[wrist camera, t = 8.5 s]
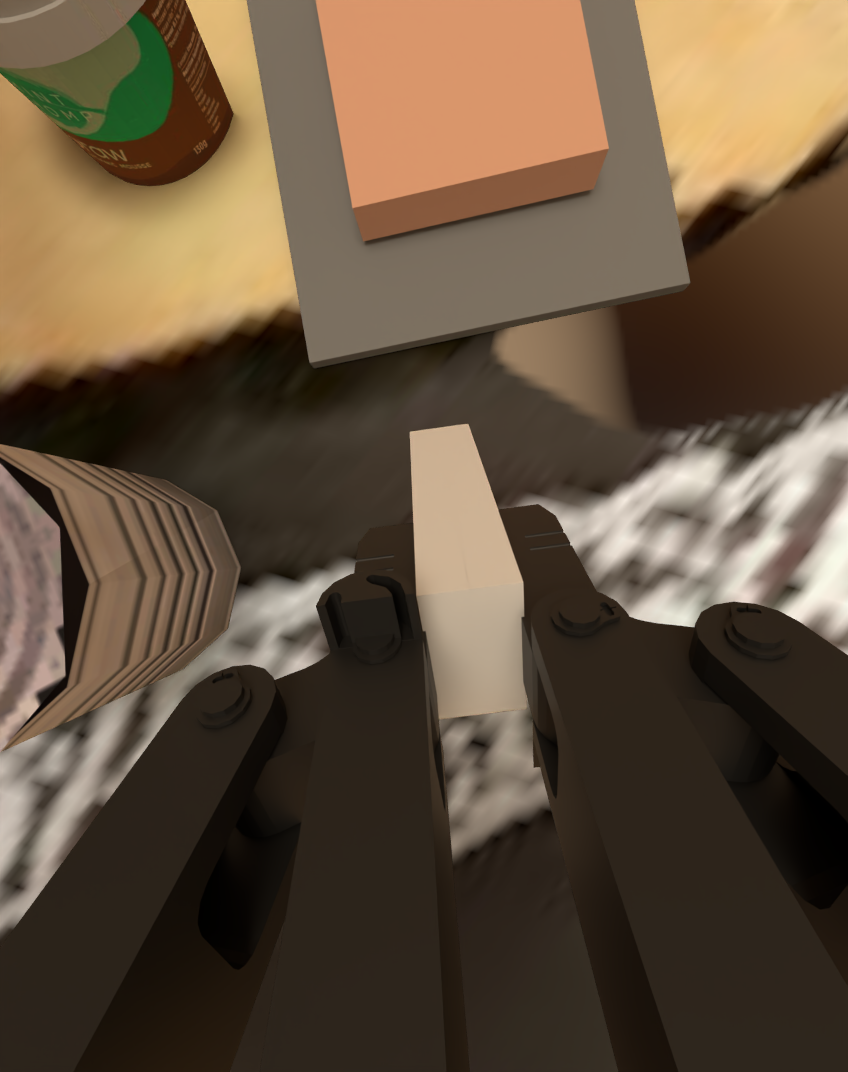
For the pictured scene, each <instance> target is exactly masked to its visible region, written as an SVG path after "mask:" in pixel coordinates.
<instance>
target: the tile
mask: <svg viewBox="0 0 848 1072" xmlns="http://www.w3.org/2000/svg"><path fill="white" fill-rule="evenodd" d="M316 5H317V11H318V17H319V22H320V28H321V34H322V39H323V45H324V50H325V56H326V62H327V67H328V73H329V79H330V84H331V90H332V95H333V101H334V107H335V112H336V118H337V124H338V129H339V135H340V140H341V146H342V152H343V157H344V163H345V169H346V174H347V180H348V185H349V191H350V197H351V202H352V208H353V211H354V214H355V217H356V220H357V224H358V227H359V230H360V233H361V236H362V239H363V241H368V240H372V239H376V238H381V237H385V236H390V235H394V234H398V233H403V232H407V231H412V230H416V229H420V228H425V227H429V226H434V225H438V224H442V223H447V222H451V221H456V220H460V219H464V218H469V217H473V216H477V215H482V214H486V213H491V212H495V211H499V210H504V209H508V208H513V207H517V206H521V205H526V204H530V203H535V202H539V201H543V200H548V199H552V198H557V197H561V196H565V195H570V194H574V193H579V192H583V191H587V190H592V189H594V187H595V184H596V181H597V179H598V176H599V173H600V171H601V168H602V165H603V163H604V160H605V157H606V155H607V152H608V150H609V146H608V141H607V136H606V131H605V126H604V120H603V115H602V110H601V105H600V100H599V95H598V90H597V84H596V79H595V74H594V69H593V64H592V59H591V54H590V48H589V43H588V38H587V33H586V28H585V23H584V17H583V12H582V7H581V2H580V0H316Z"/></svg>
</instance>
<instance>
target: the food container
mask: <svg viewBox="0 0 848 1072" xmlns="http://www.w3.org/2000/svg"><path fill="white" fill-rule="evenodd" d="M0 73H1V74H2V75H3V76H4V77H5V78H6V79H7V80H8V81H9V82H10V83H12V84H13V85H14V86H15V87H16V88H17V89H18V90H19V91H20V92H21V93H22V94H24V95H25V96H26V97H27V98H28V99H29V100H30V101H31V102H32V103H33V104H35V105H36V106H37V107H38V108H39V109H40V110H41V111H42V112H43V113H44V114H45V115H47V116H48V117H49V118H50V119H51V120H52V121H53V122H54V123H55V124H56V125H57V126H59V127H60V128H61V129H62V130H63V131H64V132H65V133H66V134H67V135H68V136H70V137H71V138H72V139H73V140H74V141H75V142H76V143H77V144H78V145H79V146H80V147H82V148H83V149H84V150H85V151H86V152H87V153H88V154H89V155H90V156H91V157H93V158H94V159H95V160H96V161H97V162H98V163H99V164H100V165H101V166H102V167H103V168H105V169H106V170H107V171H108V172H109V173H110V174H112V175H114V176H116V177H118V178H120V179H122V180H124V181H126V182H129V183H133V184H136V185H144V186H156V185H164V184H168V183H172V182H175V181H178V180H180V179H182V178H185V177H187V176H188V175H190V174H191V173H193V172H195V171H196V170H198V169H199V168H200V167H201V166H202V165H203V164H205V163H206V162H207V161H208V160H209V159H210V158H211V156H212V155H213V154H214V153H215V152H216V150H217V149H218V147H219V146H220V144H221V143H222V141H223V140H224V138H225V135H226V133H227V131H228V129H229V127H230V123H231V120H232V117H233V111H232V109H231V106H230V104H229V102H228V99H227V97H226V95H225V92H224V90H223V88H222V85H221V83H220V81H219V78H218V76H217V74H216V71H215V69H214V66H213V64H212V62H211V59H210V57H209V55H208V52H207V50H206V48H205V45H204V43H203V41H202V38H201V36H200V34H199V31H198V29H197V27H196V24H195V22H194V19H193V17H192V15H191V12H190V10H189V8H188V5H187V3H186V1H185V0H0Z"/></svg>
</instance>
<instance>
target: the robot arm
mask: <svg viewBox="0 0 848 1072" xmlns="http://www.w3.org/2000/svg"><path fill="white" fill-rule="evenodd" d="M410 448H411V473H412V498H413V523H407V524H400V525H393V526H385V527H378V528H370V529H369V531H368V532H367V533H366V534H365V536H364V537H363V538H362V539H361V541H360V542H359V543H358V550H357V557H356V561H357V562H356V564H355V571H354V574H350V575H348V576H346V577H344V578H342V579H340V580H338V581H336V582H335V583H333V584H332V585H331V586H330V587H329V588H328V589H327V590H326V591H325V592H323V593H322V595H321V597H320V599H319V601H318V603H317V605H316V608H317V611H318V614H319V617H320V620H321V623H322V626H323V629H324V632H325V635H326V638H327V641H328V644H329V647H330V654H329V655H327V656H326V657H324V658H323V659H322V660H320V661H319V662H317V663H315V664H313V665H311V666H309V667H307V668H305V669H302V670H300V671H297V672H295V673H292V674H289V675H287V676H284V677H282V678H279V679H276V680H274V678H273V677H272V676H271V675H270V674H269V673H268V672H267V671H266V670H265V669H264V668H260V667H256V666H253V665H242V666H232V667H230V668H227V669H224V670H221V671H219V672H216V673H214V674H212V675H211V676H209V677H207V678H206V679H204V680H203V681H201V682H200V683H198V684H197V685H196V686H195V687H194V688H193V689H192V690H191V691H190V692H189V693H188V694H187V695H186V696H185V697H184V698H183V699H182V700H181V702H180V703H179V704H178V706H177V707H176V709H175V710H174V711H173V713H172V714H171V715H170V717H169V718H168V720H167V721H166V722H165V724H164V725H163V726H162V728H161V729H160V730H159V732H158V733H157V735H156V736H155V737H154V739H153V740H152V741H151V743H150V744H149V745H148V747H147V748H146V750H145V751H144V752H143V754H142V755H141V756H140V758H139V759H138V760H137V762H136V763H135V765H134V766H133V767H132V769H131V770H130V771H129V773H128V774H127V775H126V777H125V778H124V780H123V781H122V782H121V784H120V785H119V786H118V788H117V789H116V790H115V792H114V793H113V795H112V796H111V797H110V799H109V800H108V801H107V803H106V804H105V805H104V807H103V808H102V810H101V811H100V812H99V814H98V815H97V816H96V818H95V819H94V820H93V822H92V823H91V825H90V826H89V827H88V829H87V830H86V831H85V833H84V834H83V835H82V837H81V838H80V840H79V841H78V842H77V844H76V845H75V846H74V848H73V849H72V850H71V852H70V853H69V855H68V856H67V857H66V859H65V860H64V861H63V863H62V864H61V865H60V867H59V868H58V870H57V871H56V872H55V874H54V875H53V876H52V878H51V879H50V880H49V882H48V883H47V885H46V886H45V887H44V889H43V890H42V891H41V893H40V894H39V895H38V897H37V898H36V900H35V901H34V902H33V904H32V905H31V906H30V908H29V909H28V910H27V912H26V913H25V915H24V916H23V917H22V919H21V920H20V921H19V923H18V924H17V925H16V927H15V928H14V930H13V931H12V932H11V934H10V935H9V936H8V938H7V939H6V940H5V942H4V943H3V945H2V946H1V947H0V1072H230V1069H231V1066H232V1064H233V1061H234V1058H235V1055H236V1052H237V1050H238V1047H239V1044H240V1041H241V1039H242V1036H243V1033H244V1030H245V1027H246V1025H247V1022H248V1019H249V1016H250V1014H251V1011H252V1008H253V1005H254V1002H255V1000H256V997H257V994H258V991H259V989H260V986H261V983H262V980H263V977H264V975H265V972H266V969H267V966H268V964H269V961H270V958H271V955H272V952H273V950H274V947H275V944H276V941H277V939H278V936H279V933H280V930H281V927H282V925H283V922H284V919H285V923H284V929H283V935H282V941H281V947H280V953H279V959H278V965H277V971H276V976H275V982H274V988H273V994H272V1000H271V1006H270V1012H269V1018H268V1024H267V1030H266V1036H265V1042H264V1048H263V1054H262V1059H261V1065H260V1071H259V1072H470V1068H469V1055H468V1043H467V1031H466V1019H465V1007H464V995H463V983H462V971H461V959H460V947H459V935H458V923H457V911H456V899H455V886H454V874H453V862H452V850H451V838H450V826H449V814H448V802H447V790H446V778H445V766H444V754H443V746H442V741H441V735H440V729H439V719H445V718H453V717H462V716H470V715H479V714H487V713H496V712H504V711H513V710H521V709H527V705H526V694H527V698H528V702H529V705H530V709H531V713H532V717H533V762H534V767H540V768H541V771H542V775H543V779H544V783H545V787H546V791H547V795H548V799H549V803H550V807H551V810H552V814H553V818H554V822H555V826H556V830H557V834H558V838H559V842H560V845H561V849H562V853H563V857H564V861H565V865H566V869H567V873H568V877H569V881H570V884H571V888H572V892H573V896H574V900H575V904H576V908H577V912H578V916H579V920H580V923H581V927H582V931H583V935H584V939H585V943H586V947H587V951H588V955H589V958H590V962H591V966H592V970H593V974H594V978H595V982H596V986H597V990H598V994H599V997H600V1001H601V1005H602V1009H603V1013H604V1017H605V1021H606V1025H607V1029H608V1032H609V1036H610V1040H611V1044H612V1048H613V1052H614V1056H615V1060H616V1064H617V1068H618V1071H619V1072H848V655H847V654H845V653H844V652H842V651H841V650H839V649H838V648H836V647H835V646H834V645H832V644H831V643H829V642H828V641H826V640H825V639H823V638H822V637H820V636H819V635H818V634H816V633H815V632H813V631H812V630H810V629H809V628H807V627H806V626H805V625H803V624H802V623H800V622H799V621H797V620H795V619H793V618H791V617H789V616H787V615H785V614H784V613H782V612H780V611H778V610H774V609H771V608H768V607H764V606H761V605H757V604H751V603H740V602H729V603H723V604H716V605H713V606H711V607H710V608H708V609H706V610H704V611H703V612H701V614H700V616H699V618H698V620H697V622H696V624H695V627H685V626H676V625H667V624H657V623H651V622H646V621H640V620H637V619H634V618H632V617H629V615H628V614H627V612H626V611H625V610H624V609H623V608H622V607H621V606H620V605H619V604H618V602H617V601H615V600H613V599H611V598H609V597H608V596H606V595H604V594H602V593H599V592H597V591H596V589H595V587H594V586H593V584H592V582H591V580H590V578H589V576H588V575H587V573H586V571H585V569H584V567H583V565H582V564H581V562H580V560H579V558H578V556H577V554H576V553H575V551H574V549H573V547H572V546H570V542H569V540H568V538H567V536H566V534H565V533H563V529H562V527H561V525H560V523H559V521H558V520H557V518H556V516H555V515H554V514H552V513H551V512H549V511H548V510H546V509H545V508H543V507H542V506H540V505H539V504H536V505H529V506H522V507H514V508H507V509H499V510H498V508H497V505H496V502H495V500H494V497H493V494H492V491H491V488H490V485H489V482H488V480H487V477H486V474H485V471H484V468H483V465H482V462H481V459H480V457H479V454H478V451H477V448H476V445H475V442H474V439H473V437H472V434H471V431H470V428H469V425H468V424H463V425H456V426H448V427H441V428H434V429H427V430H420V431H413V432H410ZM285 916H286V917H285Z"/></svg>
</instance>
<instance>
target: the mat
mask: <svg viewBox="0 0 848 1072" xmlns="http://www.w3.org/2000/svg"><path fill="white" fill-rule="evenodd" d="M580 2H581V7H582V12H583V17H584V23H585V28H586V33H587V38H588V43H589V48H590V54H591V59H592V64H593V69H594V74H595V79H596V84H597V90H598V95H599V100H600V105H601V110H602V115H603V120H604V126H605V131H606V136H607V141H608V146H609V150H608V152H607V155H606V157H605V160H604V163H603V165H602V168H601V171H600V173H599V176H598V179H597V181H596V184H595V187H594V189H592V190H587V191H583V192H579V193H574V194H570V195H565V196H561V197H557V198H552V199H548V200H543V201H539V202H535V203H530V204H526V205H521V206H517V207H513V208H508V209H504V210H499V211H495V212H491V213H486V214H482V215H477V216H473V217H469V218H464V219H460V220H456V221H451V222H447V223H442V224H438V225H434V226H429V227H425V228H420V229H416V230H412V231H407V232H403V233H398V234H394V235H390V236H385V237H381V238H376V239H372V240H368V241H363V239H362V236H361V233H360V230H359V227H358V224H357V220H356V217H355V214H354V211H353V208H352V202H351V197H350V191H349V185H348V180H347V174H346V169H345V163H344V157H343V152H342V146H341V140H340V135H339V129H338V124H337V118H336V112H335V107H334V101H333V95H332V90H331V84H330V79H329V73H328V67H327V62H326V56H325V50H324V45H323V39H322V34H321V28H320V22H319V17H318V11H317V5H316V0H247V5H248V10H249V16H250V22H251V28H252V33H253V39H254V45H255V51H256V56H257V62H258V68H259V74H260V79H261V85H262V91H263V97H264V103H265V108H266V114H267V120H268V126H269V131H270V137H271V143H272V149H273V154H274V160H275V166H276V172H277V177H278V183H279V189H280V195H281V200H282V206H283V212H284V218H285V223H286V229H287V235H288V241H289V247H290V252H291V258H292V264H293V270H294V275H295V281H296V287H297V293H298V298H299V304H300V310H301V316H302V321H303V327H304V333H305V339H306V344H307V350H308V356H309V362H310V364H311V365H312V366H313V368H319V367H323V366H328V365H333V364H338V363H342V362H347V361H352V360H357V359H362V358H366V357H371V356H376V355H381V354H385V353H390V352H395V351H400V350H404V349H409V348H414V347H419V346H424V345H428V344H433V343H438V342H443V341H447V340H452V339H457V338H462V337H466V336H471V335H476V334H481V333H486V332H490V331H495V330H500V329H505V328H509V327H514V326H519V325H524V324H528V323H533V322H538V321H543V320H548V319H552V318H557V317H561V316H567V315H571V314H576V313H581V312H586V311H590V310H595V309H599V308H605V307H610V306H614V305H619V304H624V303H629V302H633V301H638V300H643V299H648V298H652V297H657V296H662V295H667V294H672V293H676V292H681V291H683V290H684V289H685V288H686V287H687V286H688V285H689V284H690V279H689V274H688V269H687V264H686V259H685V254H684V249H683V243H682V238H681V233H680V228H679V223H678V218H677V213H676V208H675V203H674V198H673V193H672V188H671V183H670V178H669V173H668V168H667V162H666V157H665V152H664V147H663V142H662V137H661V132H660V127H659V122H658V117H657V112H656V107H655V102H654V97H653V92H652V87H651V81H650V76H649V71H648V66H647V61H646V56H645V51H644V46H643V41H642V36H641V31H640V26H639V21H638V16H637V11H636V6H635V0H580Z"/></svg>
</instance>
